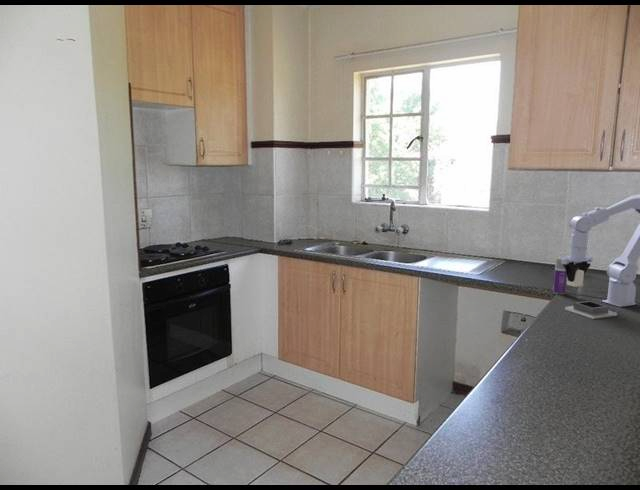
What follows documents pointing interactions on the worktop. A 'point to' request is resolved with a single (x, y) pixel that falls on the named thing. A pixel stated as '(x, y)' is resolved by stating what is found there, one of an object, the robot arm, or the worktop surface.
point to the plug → (577, 279)
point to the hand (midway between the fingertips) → (574, 280)
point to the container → (559, 278)
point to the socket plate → (591, 309)
